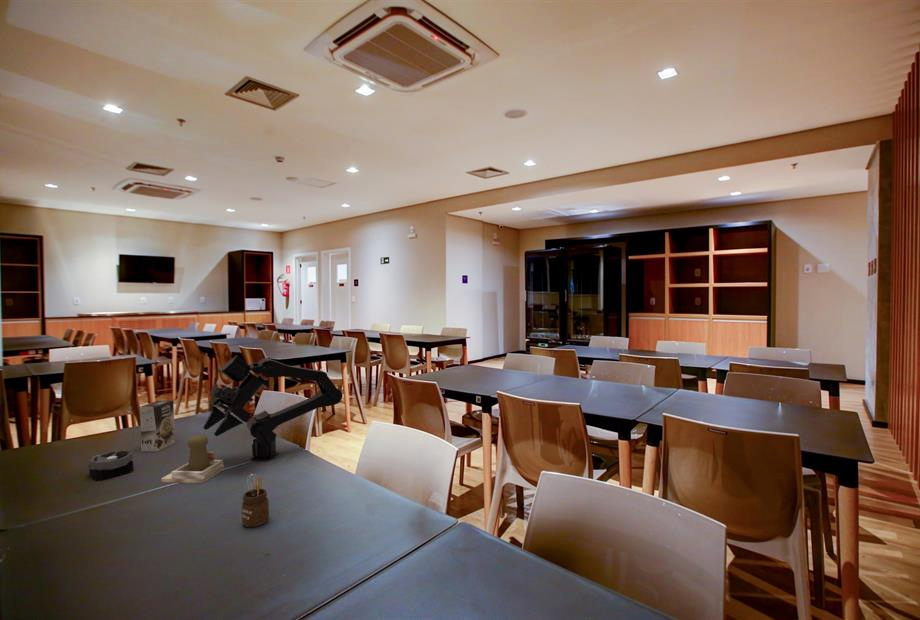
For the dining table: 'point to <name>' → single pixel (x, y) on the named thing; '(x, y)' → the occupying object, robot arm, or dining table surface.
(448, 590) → the dining table surface
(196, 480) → the wooden box
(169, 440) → the coffee box
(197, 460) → the cork
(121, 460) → the cpu cooler
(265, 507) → the utensil holder
